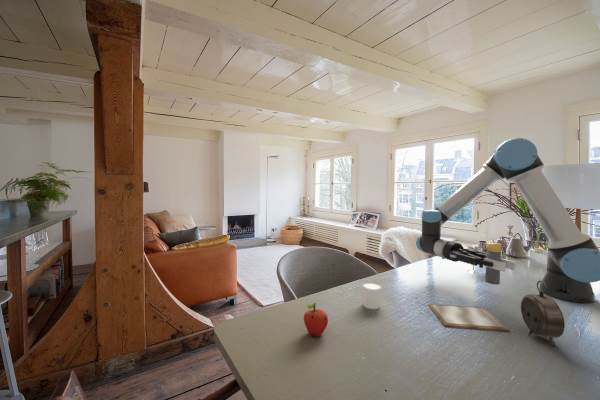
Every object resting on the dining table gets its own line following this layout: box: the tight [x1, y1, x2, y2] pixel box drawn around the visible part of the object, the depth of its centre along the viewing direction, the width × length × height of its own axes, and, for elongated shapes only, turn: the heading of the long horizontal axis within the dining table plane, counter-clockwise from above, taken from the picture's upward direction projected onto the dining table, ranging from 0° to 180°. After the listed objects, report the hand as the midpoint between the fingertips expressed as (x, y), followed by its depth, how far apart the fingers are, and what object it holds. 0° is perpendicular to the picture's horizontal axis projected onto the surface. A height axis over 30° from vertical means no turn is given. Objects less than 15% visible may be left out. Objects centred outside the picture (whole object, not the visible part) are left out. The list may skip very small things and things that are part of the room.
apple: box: [303, 302, 329, 337], centre depth 74 cm, size 8×7×10 cm
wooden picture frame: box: [427, 303, 511, 332], centre depth 85 cm, size 18×14×1 cm
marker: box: [484, 241, 502, 286], centre depth 90 cm, size 4×4×14 cm
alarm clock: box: [520, 280, 565, 348], centre depth 73 cm, size 11×5×16 cm, turn 168°
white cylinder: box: [361, 282, 383, 310], centre depth 92 cm, size 7×7×7 cm
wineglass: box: [466, 245, 483, 274], centre depth 129 cm, size 7×7×12 cm
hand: (509, 266), depth 85 cm, fingers closed on marker, 4 cm apart
